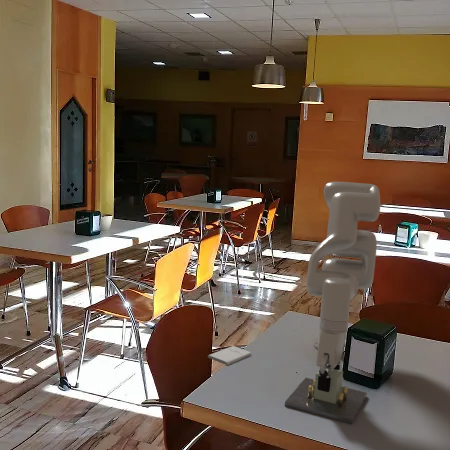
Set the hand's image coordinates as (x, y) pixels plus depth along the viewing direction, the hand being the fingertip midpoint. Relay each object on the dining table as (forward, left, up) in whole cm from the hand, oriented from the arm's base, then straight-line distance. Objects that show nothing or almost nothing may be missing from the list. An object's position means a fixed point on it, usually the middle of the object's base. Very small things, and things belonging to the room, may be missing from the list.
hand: (328, 383), depth 147 cm
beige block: (0, 0, -4) cm, 4 cm away
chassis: (0, 0, -5) cm, 5 cm away
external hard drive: (-13, -36, -6) cm, 39 cm away
